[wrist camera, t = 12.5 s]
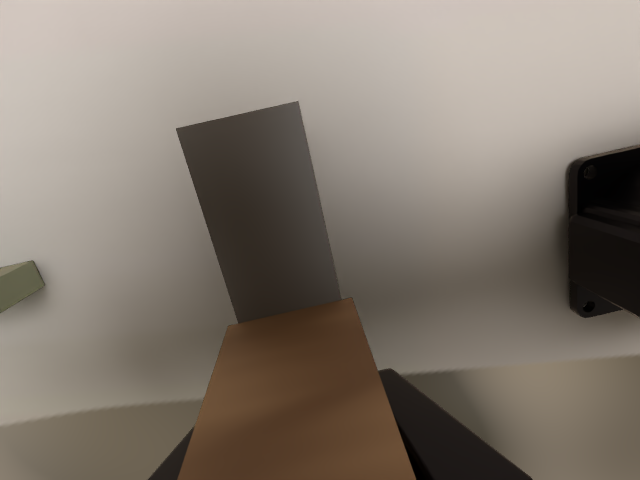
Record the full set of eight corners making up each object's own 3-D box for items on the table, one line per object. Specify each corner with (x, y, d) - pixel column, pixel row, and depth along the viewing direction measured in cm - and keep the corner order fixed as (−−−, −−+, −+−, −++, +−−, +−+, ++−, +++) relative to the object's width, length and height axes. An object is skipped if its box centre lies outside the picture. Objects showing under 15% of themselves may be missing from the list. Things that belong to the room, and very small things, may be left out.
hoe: (305, 107, 10) (378, -26, 1) (375, 437, 14) (517, 959, 5) (200, 131, 10) (-339, 136, 1) (298, 455, 14) (307, 1008, 5)
